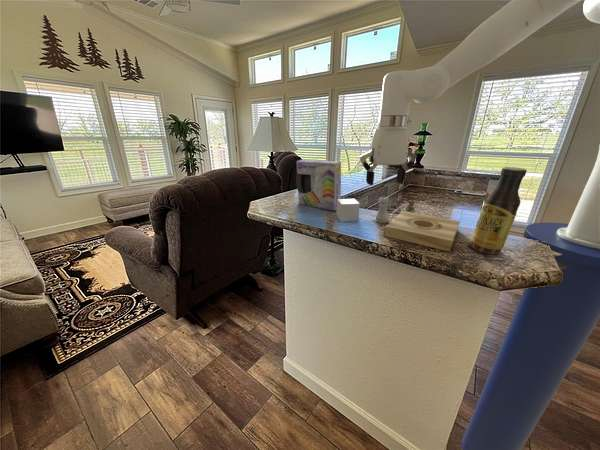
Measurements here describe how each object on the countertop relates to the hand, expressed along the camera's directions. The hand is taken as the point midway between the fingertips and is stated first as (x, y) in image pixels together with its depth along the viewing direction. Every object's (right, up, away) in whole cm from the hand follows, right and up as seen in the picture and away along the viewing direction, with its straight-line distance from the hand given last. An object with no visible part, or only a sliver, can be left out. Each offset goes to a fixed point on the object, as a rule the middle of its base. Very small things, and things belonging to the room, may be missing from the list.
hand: (384, 183), depth 72 cm
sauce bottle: (+20, -19, -15) cm, 31 cm away
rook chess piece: (+1, -12, +5) cm, 13 cm away
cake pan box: (-19, -5, +21) cm, 29 cm away
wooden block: (+9, -15, -5) cm, 18 cm away
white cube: (-10, -11, +8) cm, 17 cm away
